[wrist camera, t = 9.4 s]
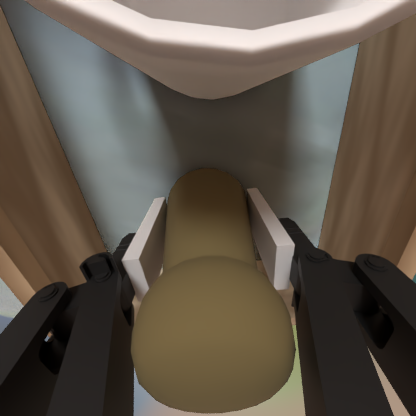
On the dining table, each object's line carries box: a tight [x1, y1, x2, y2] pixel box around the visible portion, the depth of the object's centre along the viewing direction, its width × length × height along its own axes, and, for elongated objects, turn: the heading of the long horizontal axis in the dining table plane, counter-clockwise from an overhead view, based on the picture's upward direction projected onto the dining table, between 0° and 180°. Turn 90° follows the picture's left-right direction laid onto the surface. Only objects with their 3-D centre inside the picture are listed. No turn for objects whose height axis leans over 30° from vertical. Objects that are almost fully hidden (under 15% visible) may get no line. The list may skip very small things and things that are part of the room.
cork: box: [131, 168, 296, 413], centre depth 10 cm, size 6×6×11 cm
